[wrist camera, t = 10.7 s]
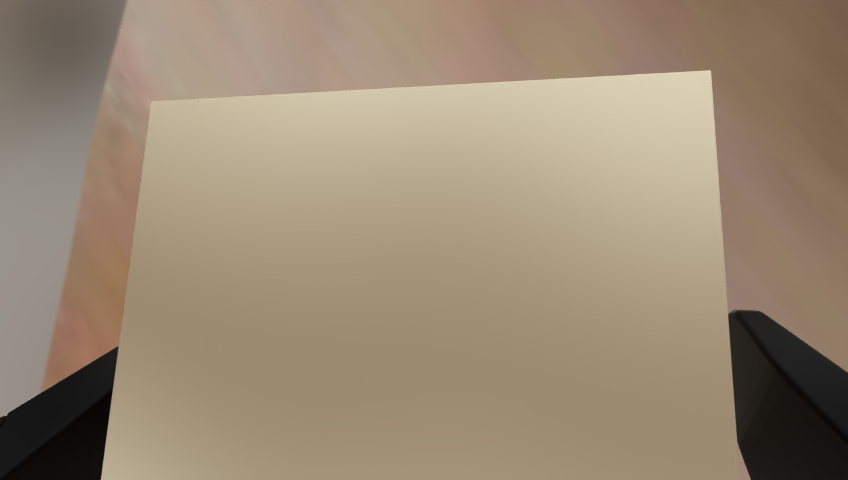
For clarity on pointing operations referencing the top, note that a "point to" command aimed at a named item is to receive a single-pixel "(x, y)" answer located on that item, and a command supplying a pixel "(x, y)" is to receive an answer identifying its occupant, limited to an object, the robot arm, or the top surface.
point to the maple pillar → (429, 287)
